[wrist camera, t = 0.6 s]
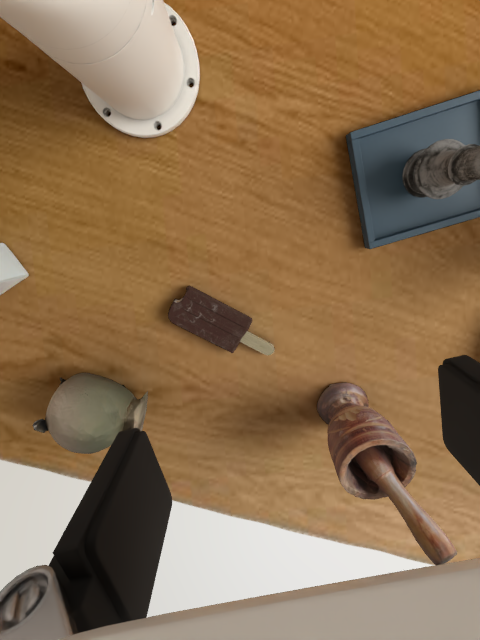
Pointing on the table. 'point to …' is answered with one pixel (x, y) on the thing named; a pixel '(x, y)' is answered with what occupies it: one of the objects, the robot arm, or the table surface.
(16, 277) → the skincare box
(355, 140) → the blue tray
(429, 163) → the stone chess piece
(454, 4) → the table surface
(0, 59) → the table surface
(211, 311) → the ice cream bar
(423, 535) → the mortar and pestle
